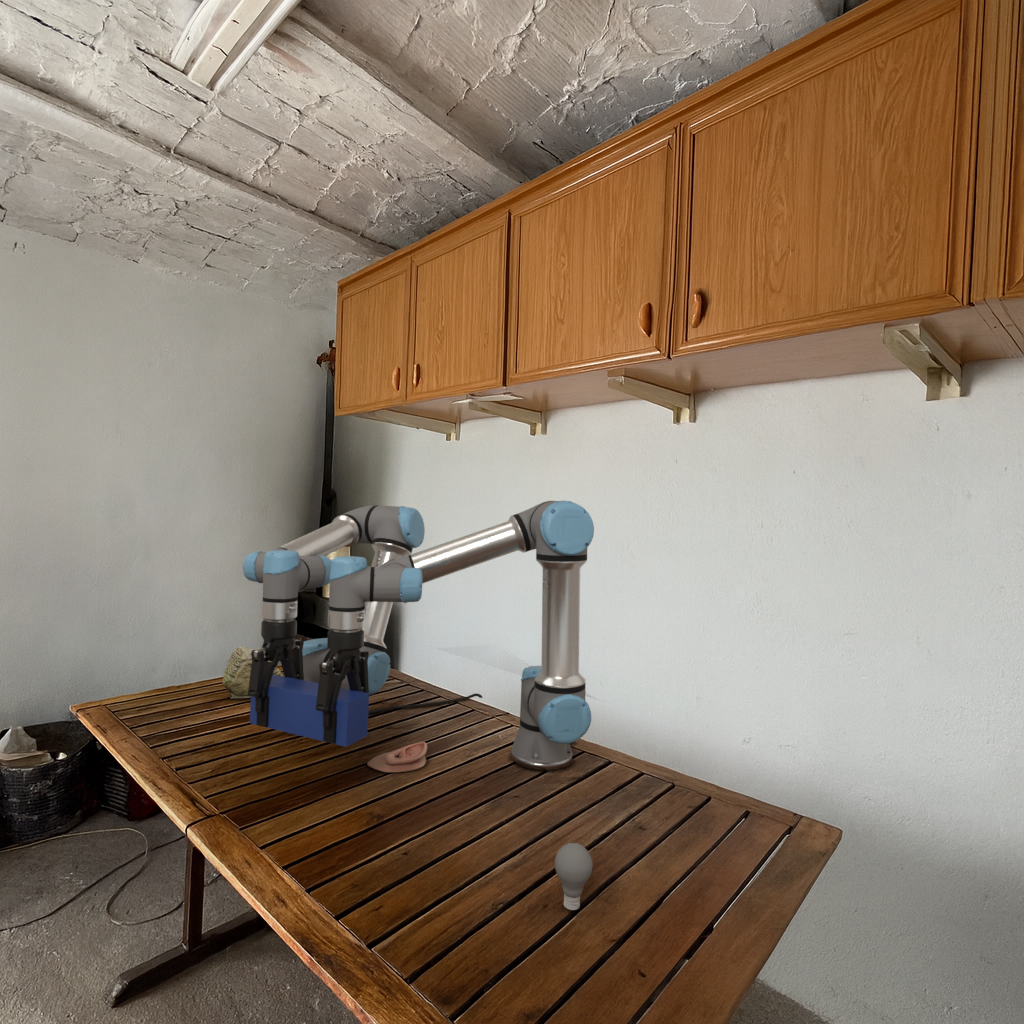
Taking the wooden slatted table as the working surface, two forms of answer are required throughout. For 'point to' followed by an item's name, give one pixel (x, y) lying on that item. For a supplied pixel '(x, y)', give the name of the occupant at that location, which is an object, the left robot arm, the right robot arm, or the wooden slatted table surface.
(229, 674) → the fossil
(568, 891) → the light bulb
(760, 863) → the wooden slatted table surface
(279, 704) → the box
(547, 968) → the wooden slatted table surface
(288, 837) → the wooden slatted table surface
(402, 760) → the anatomical model
